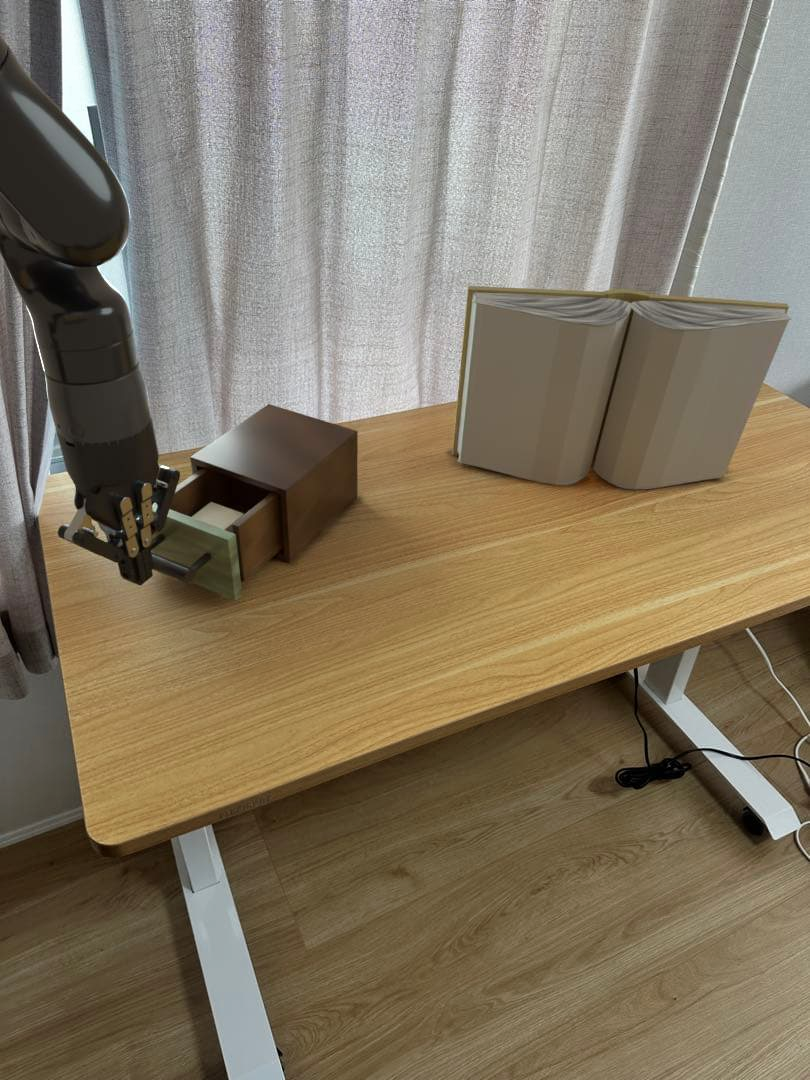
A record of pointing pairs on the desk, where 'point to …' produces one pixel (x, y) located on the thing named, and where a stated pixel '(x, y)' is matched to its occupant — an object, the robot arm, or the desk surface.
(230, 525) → the block
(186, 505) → the drawer
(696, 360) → the book
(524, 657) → the desk surface
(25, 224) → the robot arm
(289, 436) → the cabinet
